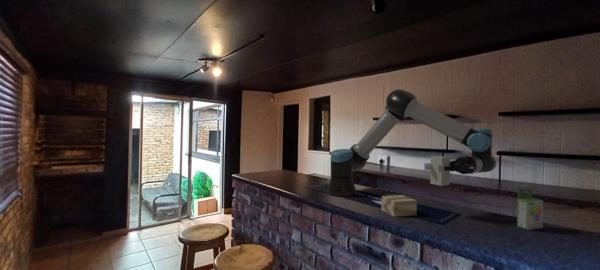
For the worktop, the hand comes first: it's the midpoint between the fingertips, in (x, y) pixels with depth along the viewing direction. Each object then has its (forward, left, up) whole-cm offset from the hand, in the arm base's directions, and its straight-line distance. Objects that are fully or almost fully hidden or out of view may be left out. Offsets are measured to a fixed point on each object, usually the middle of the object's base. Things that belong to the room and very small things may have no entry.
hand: (431, 167), depth 113 cm
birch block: (-10, -7, -19) cm, 23 cm away
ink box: (+25, +19, -19) cm, 37 cm away
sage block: (0, +5, -7) cm, 9 cm away
